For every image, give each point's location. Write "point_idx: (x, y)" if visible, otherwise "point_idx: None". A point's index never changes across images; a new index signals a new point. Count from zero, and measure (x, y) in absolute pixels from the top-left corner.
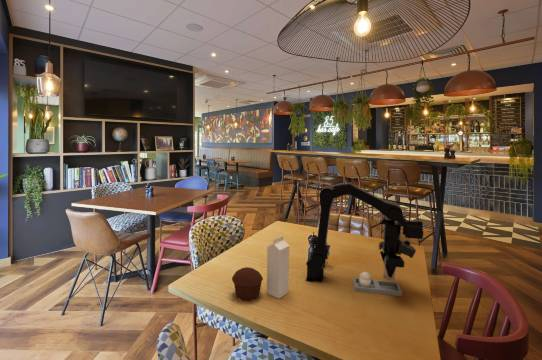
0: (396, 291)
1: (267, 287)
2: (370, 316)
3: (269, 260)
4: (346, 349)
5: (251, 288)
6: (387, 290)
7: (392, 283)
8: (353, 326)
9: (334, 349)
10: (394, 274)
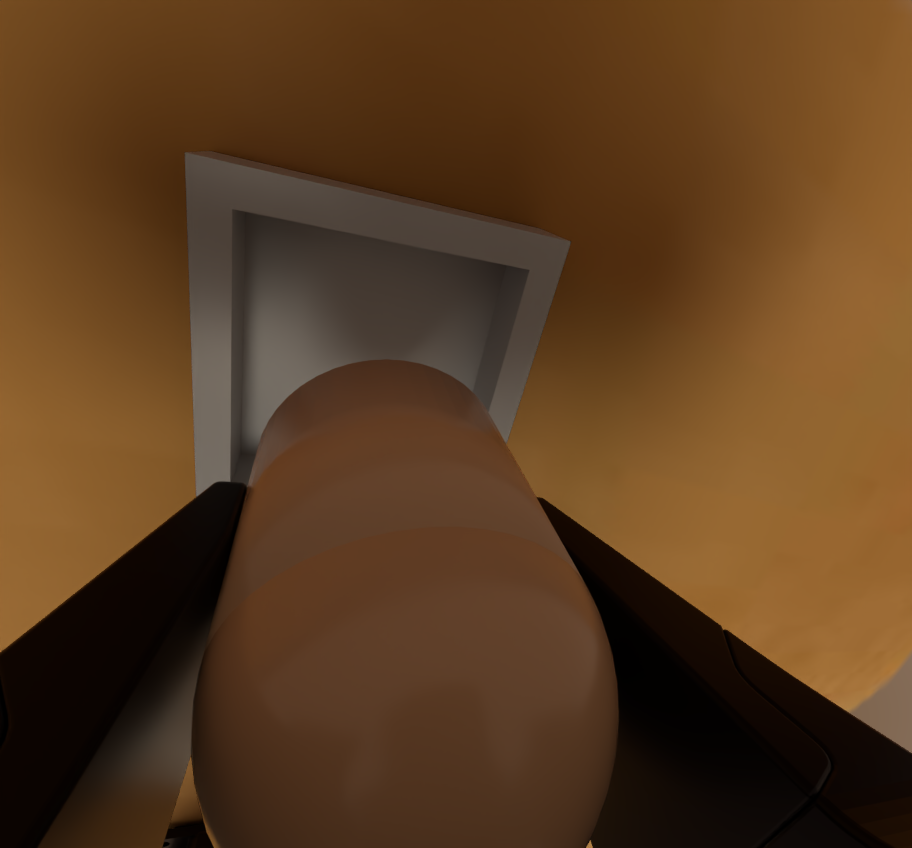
0: (538, 322)
1: None
2: (738, 575)
3: None
4: (880, 664)
5: None
6: (506, 433)
7: (234, 271)
8: (778, 647)
9: (858, 693)
10: (516, 465)
